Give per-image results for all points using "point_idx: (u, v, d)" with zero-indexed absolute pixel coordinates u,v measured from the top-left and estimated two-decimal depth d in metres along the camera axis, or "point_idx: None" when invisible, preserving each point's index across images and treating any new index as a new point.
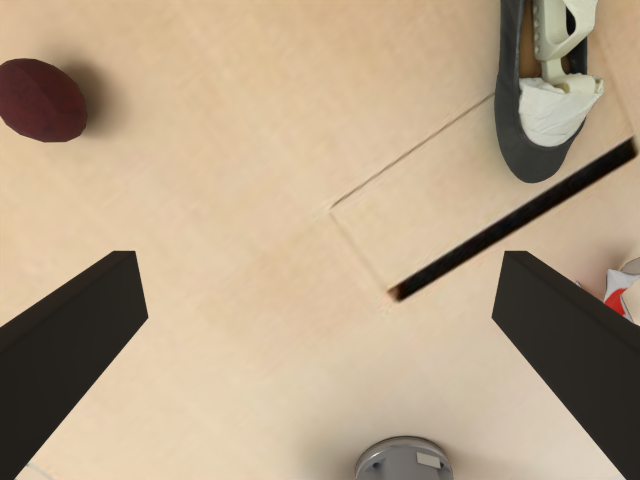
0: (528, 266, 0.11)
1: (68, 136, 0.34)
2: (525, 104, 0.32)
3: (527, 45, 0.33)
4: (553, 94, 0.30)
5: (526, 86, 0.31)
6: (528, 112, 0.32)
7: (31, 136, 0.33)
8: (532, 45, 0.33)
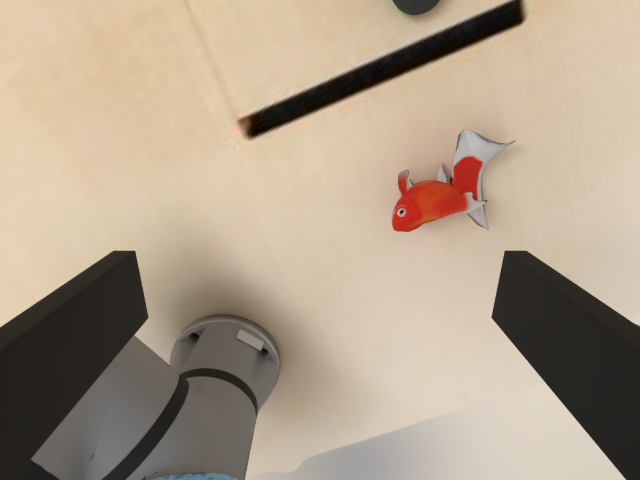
0: (528, 266, 0.11)
1: None
2: None
3: None
4: None
5: None
6: None
7: None
8: None
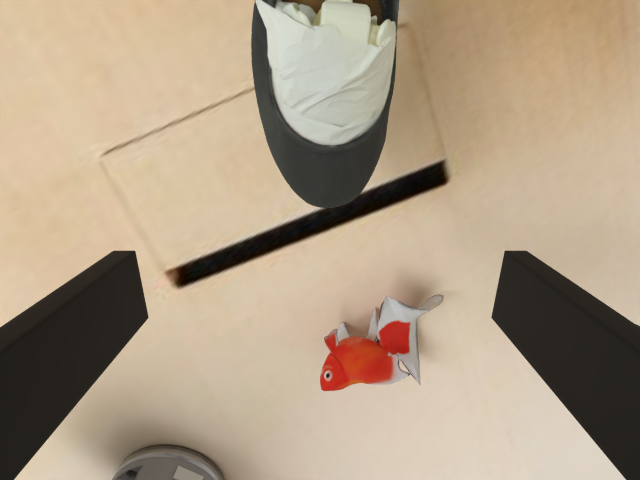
0: (528, 266, 0.11)
1: None
2: (270, 46, 0.17)
3: None
4: (289, 21, 0.14)
5: (258, 0, 0.15)
6: (274, 63, 0.17)
7: None
8: None
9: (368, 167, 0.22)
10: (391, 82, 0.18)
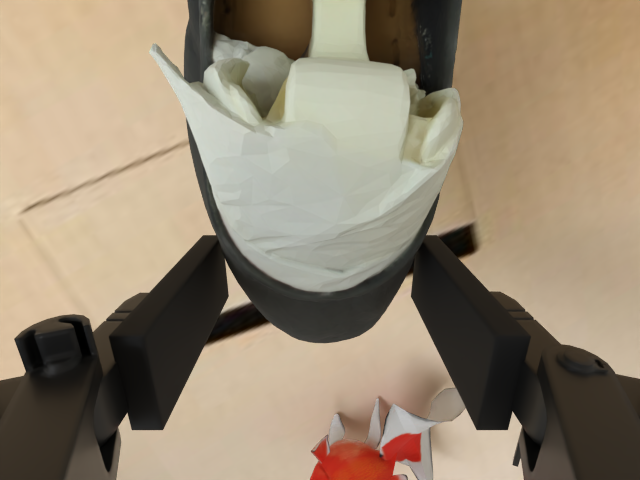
0: (429, 247, 0.12)
1: None
2: None
3: None
4: (210, 113, 0.06)
5: (153, 52, 0.07)
6: None
7: None
8: None
9: (389, 296, 0.13)
10: None
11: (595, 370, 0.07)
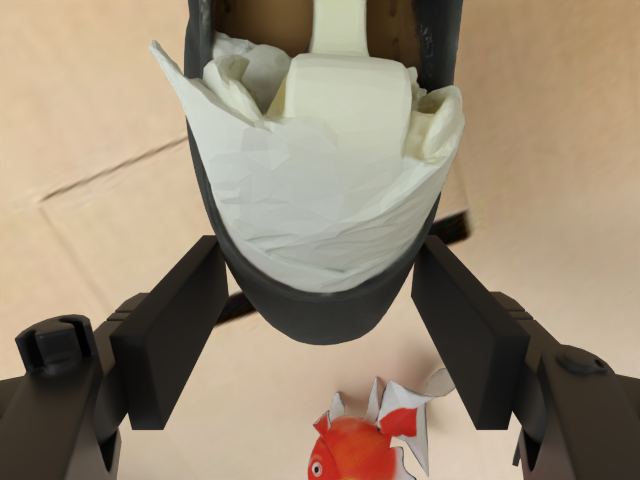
0: (429, 247, 0.12)
1: None
2: None
3: None
4: (209, 108, 0.06)
5: (152, 48, 0.07)
6: None
7: None
8: None
9: (389, 297, 0.13)
10: None
11: (594, 370, 0.07)
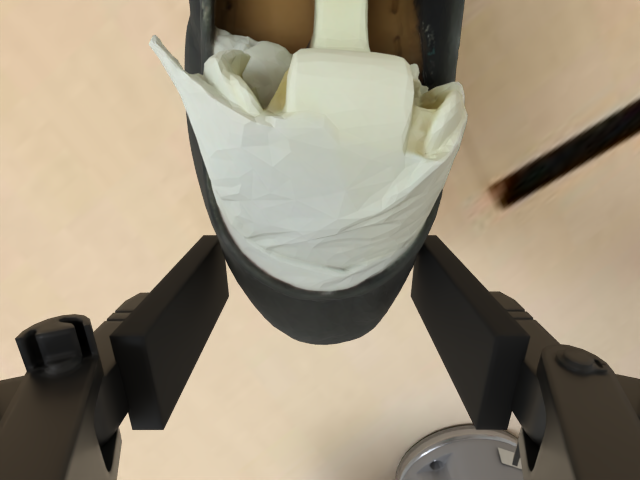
0: (429, 247, 0.12)
1: None
2: None
3: None
4: (210, 103, 0.06)
5: (153, 44, 0.07)
6: None
7: None
8: None
9: (390, 296, 0.13)
10: None
11: (594, 370, 0.07)
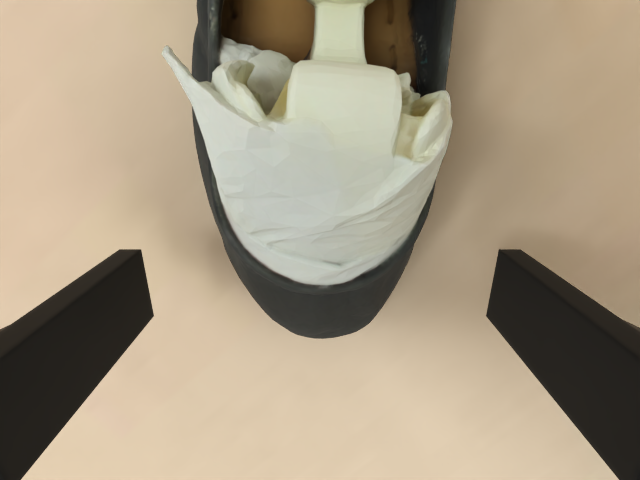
0: (522, 265, 0.11)
1: None
2: None
3: None
4: (218, 109, 0.06)
5: (165, 53, 0.07)
6: None
7: None
8: None
9: (385, 292, 0.14)
10: None
11: None
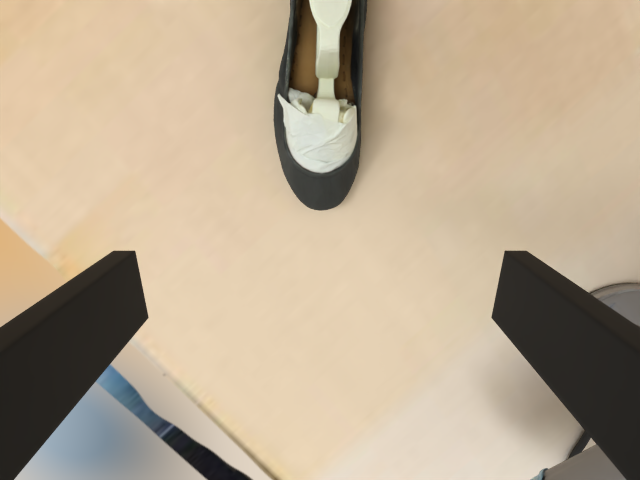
0: (528, 266, 0.11)
1: None
2: (285, 117, 0.29)
3: (310, 57, 0.30)
4: (295, 110, 0.27)
5: (279, 96, 0.27)
6: (287, 127, 0.29)
7: None
8: (315, 58, 0.30)
9: (346, 185, 0.34)
10: (357, 135, 0.31)
11: None
